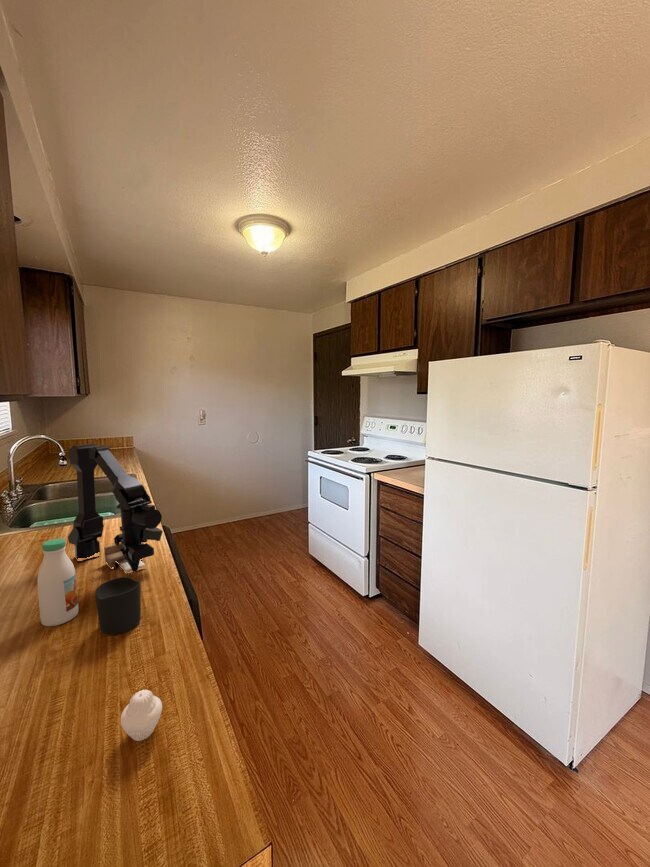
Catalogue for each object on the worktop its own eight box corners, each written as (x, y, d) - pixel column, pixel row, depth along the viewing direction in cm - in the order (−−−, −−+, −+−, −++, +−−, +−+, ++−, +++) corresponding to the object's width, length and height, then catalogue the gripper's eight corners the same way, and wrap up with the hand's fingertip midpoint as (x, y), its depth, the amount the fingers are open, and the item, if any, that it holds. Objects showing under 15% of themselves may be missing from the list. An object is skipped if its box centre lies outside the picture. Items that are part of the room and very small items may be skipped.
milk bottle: (55, 630, 86) (48, 549, 84) (33, 623, 88) (25, 545, 86) (86, 612, 93) (80, 537, 91) (64, 606, 95) (58, 533, 93)
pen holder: (144, 610, 94) (142, 573, 93) (140, 631, 85) (137, 591, 84) (102, 618, 90) (100, 580, 89) (94, 641, 82) (90, 600, 81)
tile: (126, 576, 112) (126, 570, 112) (115, 564, 121) (115, 558, 120) (145, 570, 116) (145, 564, 116) (133, 559, 124) (133, 553, 124)
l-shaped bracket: (110, 570, 115) (109, 552, 115) (105, 564, 119) (104, 547, 119) (143, 560, 122) (142, 543, 122) (137, 555, 126) (136, 538, 126)
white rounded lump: (169, 715, 63) (167, 678, 62) (153, 749, 57) (151, 708, 56) (133, 716, 62) (130, 679, 62) (113, 750, 56) (110, 710, 56)
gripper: (170, 524, 111) (172, 572, 112) (148, 510, 124) (151, 554, 126) (130, 533, 103) (134, 585, 105) (112, 518, 116) (115, 564, 118)
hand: (135, 571), depth 113 cm, fingers closed
